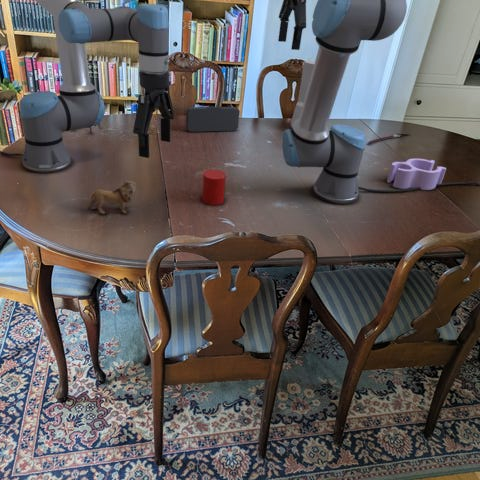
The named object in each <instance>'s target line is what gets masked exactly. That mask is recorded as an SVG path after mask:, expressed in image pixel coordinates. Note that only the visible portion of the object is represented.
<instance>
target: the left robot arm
mask: <svg viewBox="0 0 480 480" xmlns="http://www.w3.org/2000/svg"><path fill="white" fill-rule="evenodd" d="M34 1H35V2H36V3H37V4H38V5H39V6H41V8H43V9H44V11H46V12H48V14H50V16H52V19H53V25H54V26H53V27H54V33H55V40H56V47H57V53H58V59H59V65H60V73H61V79H62V83H61V85H60V86H59V87H58V92H59V95H58V94H57V93H56V92H54V91H51V90H45V91H43V90H40V91H39V90H37V91H33V92H30V93H27V94H26V95H24V96H23V97H21V98H20V100H19V103H18V104H19V116H20V119H21V125H22V132H23V137H24V148H23V153H7V152H3V151H2V150H0V155H3V156H6V157H22V158H21V159H22V160H21V161H22V166H23V168H24V169H25V170H27V171H29V172H33V173H39V174H46V173H56V172H61V171H63V170H66V169H67V168H69V167H70V166H71V163H72V159H71V155H70V153H69V151H68V150H67V149H68V148H67V147H66V145H65V143H64V140H63V133H65V132H70V131H75V130H81V129H90V127H91V128H92V127H95V126H99V125H98V124H100V125H101V123H102V122H103V120H104V118H105V111H106V108H105V107H106V106H105V101H104V99H103V96H102V94H101V93H100V92H99V91H98V90H96V86H95V85H94V84H93V83H91V80H90V79H91V78H90V79H89V77H90V72H89V71H90V69H89V70H88V68H89V66H88V64H89V63H88V60H87V59H88V56H87V54H88V53H87V48H86V44H89V43H104V42H123V41H131V42H135V43H137V44H138V46H137V47H138V69H139V70H140V71H139V73H138V74H139V86H140V87H141V88H143V89H144V94H138V96H137V107H136V112H135V119H134V125H133V129H132V134H134V135H137V138H138V156H139V157H141V158H146V159H149V158H150V134H149V133H148V131H149V128H150V124H151V121H152V118H153V114H154V113H155V112H156V110H158V112H159V114H160V116H161V117H162V118H160V141H161V142H166V143H170V142H171V120H174V119H175V111H174V106H173V101H172V98H171V93H170V83H169V82H170V80H169V79H170V78H169V77H170V76H169V72H168V71H169V64H170V62H171V61H170V59H169V50H170V49H169V46H170V45H169V41H170V38H169V37H170V36H169V35H170V22H169V10H168V7H166V6H165V5H162V4H156V3H140V4H138V5H137V8H133V7H130V6H121V5H119V6H116V7H114V8H90V7H89V6H87V5H86V4H84V3H83V2H82V0H34Z"/></svg>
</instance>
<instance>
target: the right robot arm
mask: <svg viewBox="0 0 480 480" xmlns="http://www.w3.org/2000/svg"><path fill="white" fill-rule="evenodd" d="M407 10H408V4H407V0H317V1H316V4H315V6H314V9H313V12H312V13H313V14H312V21H311V30H312V33H313V36H315V43H316V44H317V45H318V50H317V53H316V56H315V59H314V60H315V64H314V67H313V71H312V74H311V78H310V82H309V85H308V89H307V93H306V96H305V100H304V104H303V107H302V111H301V114H300V118H299V119H297V120H295V121H294V122H293V125H292V127H291V129H290V128H287V129H284V131H283V133H282V143H281V144H282V154H283V159H284V162H285V164H286V165H287V166H289V167H295V168H322V170H321V172H320V173H319V176H318V177H317V179H316V181H314V184H313V187H312V188H313V189H312V191H313V194H314V195H315V196H316V197H317V198H318V199H320V200H322V201H325V202H327V203H331V204H336V205H349V204H352V203H355V202H356V201H357V200H358V198H359V190H362V191H366V192H371V193H372V192H373V193H385V194H386V193H403V192H411V191H416V190H422V189H421V187H416V188H407V189H372V188H365V187H362V186H359V182H358V174H359V171H360V166H361V163H362V159H363V154H364V151H365V149H366V141H367V136H366V134H365V133H364V132H363V131H361V130H360V129H358V128H355V127H353V126H351V125H345V124H340V123H334V124H332V125H331V127H330V128H329V127H328V123H329V120H330V117H331V114H332V111H333V108H334V106H335V102H336V99H337V95H338V93H339V89H340V88H341V83H342V81H343V78H344V75H345V72H346V69H347V65H348V63H349V60H350V57H351V55H352V54H355V53H356V52H358V50H359V49H360V44H361V42H362V41H377V42H378V41H381V40H385V39H387V38H389V37H390V36H392V35H394V34H395V33H396V32H397V31H398V30H399V29H400V27H401V26H402V24H403V23H404V21H405V18H406V16H407V15H406V14H407ZM292 12H293V15H294V16H293V17H294V24H295V25H294V26H293V35H292V40H291V41H292V42H291V50H293V51H294V50H295V51H300V50H301V49H300V48H301V41H302V35H303V31H304V29H307V0H283V1H282V4H281V7H280V11H279V13H278V19H279V21H280V22H279V23H280V24H279V31H278V40H277V41H278V42H279V43H280V42H281V43H282V42H283V43H285V42H287V37H288V30H289V29H288V28H289V22H290V16H291V15H292ZM465 182H466V181H465ZM465 182H463V181H462V182H461V181H459V182H457V181H456V182H454V181H453V182H441V184H436V187H441V186H442V187H443V186H452V185H454V186H455V185H472V184H474V185H477V186H478V187H480V183H479V182H478V181H473V180H472V181H468V182H469V183H465ZM477 183H479V184H477Z"/></svg>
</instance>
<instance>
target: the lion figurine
mask: <svg viewBox="0 0 480 480" xmlns="http://www.w3.org/2000/svg"><path fill="white" fill-rule="evenodd" d="M136 194H137V185H136V182H134V181H132V180H127V181H124V182H123V184H121V185H120V186H119V187H118V188H116V189H115V190H107V189H100V188H99V189H96V190H94V191H93V192H92V193H91V196H90V200H89V201H90V202H89V206H88V207H87V208H86V209H85V212H89V211H90V209H92V210H96V209H97V210H98V211H99V213H100V214H102V215H104V214H106V211H105V210H103V209H102V207H103V203H104V201H105V202H107V203H109V204H118V207H119V209H120V211H121V213H123V214H126V213H127V210H126V209H125V207H126V203H130V202H131V201H132V199H133V198H134V197H135V195H136ZM95 204H97V206H96V205H95Z"/></svg>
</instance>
